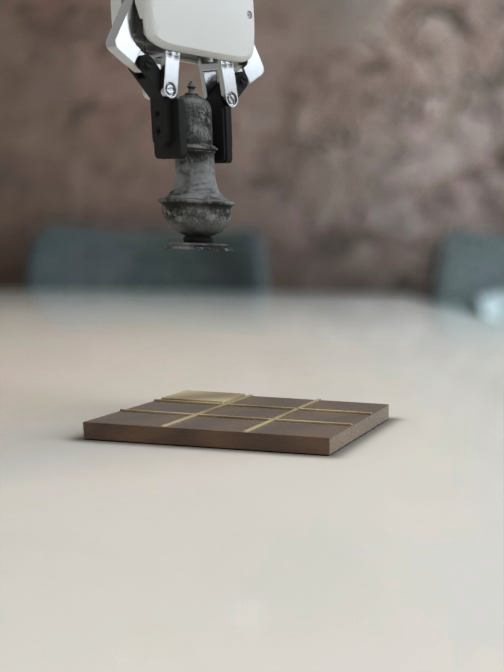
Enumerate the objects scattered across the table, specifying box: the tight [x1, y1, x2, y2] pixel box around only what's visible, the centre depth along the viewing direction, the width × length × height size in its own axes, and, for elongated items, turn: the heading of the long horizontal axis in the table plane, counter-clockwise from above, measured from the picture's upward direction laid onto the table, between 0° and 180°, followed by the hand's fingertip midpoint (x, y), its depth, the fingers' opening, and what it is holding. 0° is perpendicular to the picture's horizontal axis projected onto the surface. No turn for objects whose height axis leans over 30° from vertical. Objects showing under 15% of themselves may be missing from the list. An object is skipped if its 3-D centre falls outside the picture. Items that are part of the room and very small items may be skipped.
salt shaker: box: [156, 80, 236, 252], centre depth 85 cm, size 6×6×12 cm
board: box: [82, 389, 390, 456], centre depth 85 cm, size 18×18×1 cm
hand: (193, 158), depth 85 cm, fingers closed on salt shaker, 3 cm apart
